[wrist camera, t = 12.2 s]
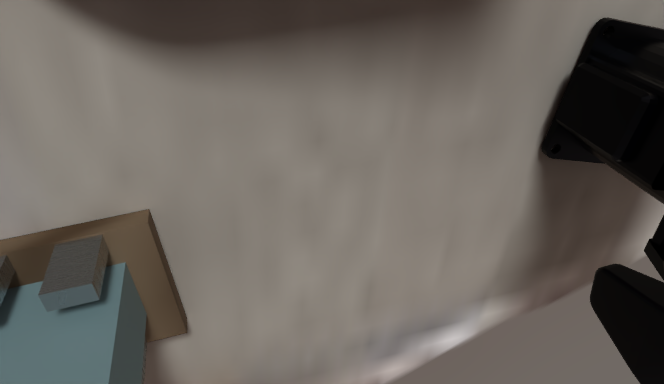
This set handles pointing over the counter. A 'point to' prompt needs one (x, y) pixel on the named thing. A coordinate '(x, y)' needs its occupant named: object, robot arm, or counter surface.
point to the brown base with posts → (97, 268)
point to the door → (74, 336)
